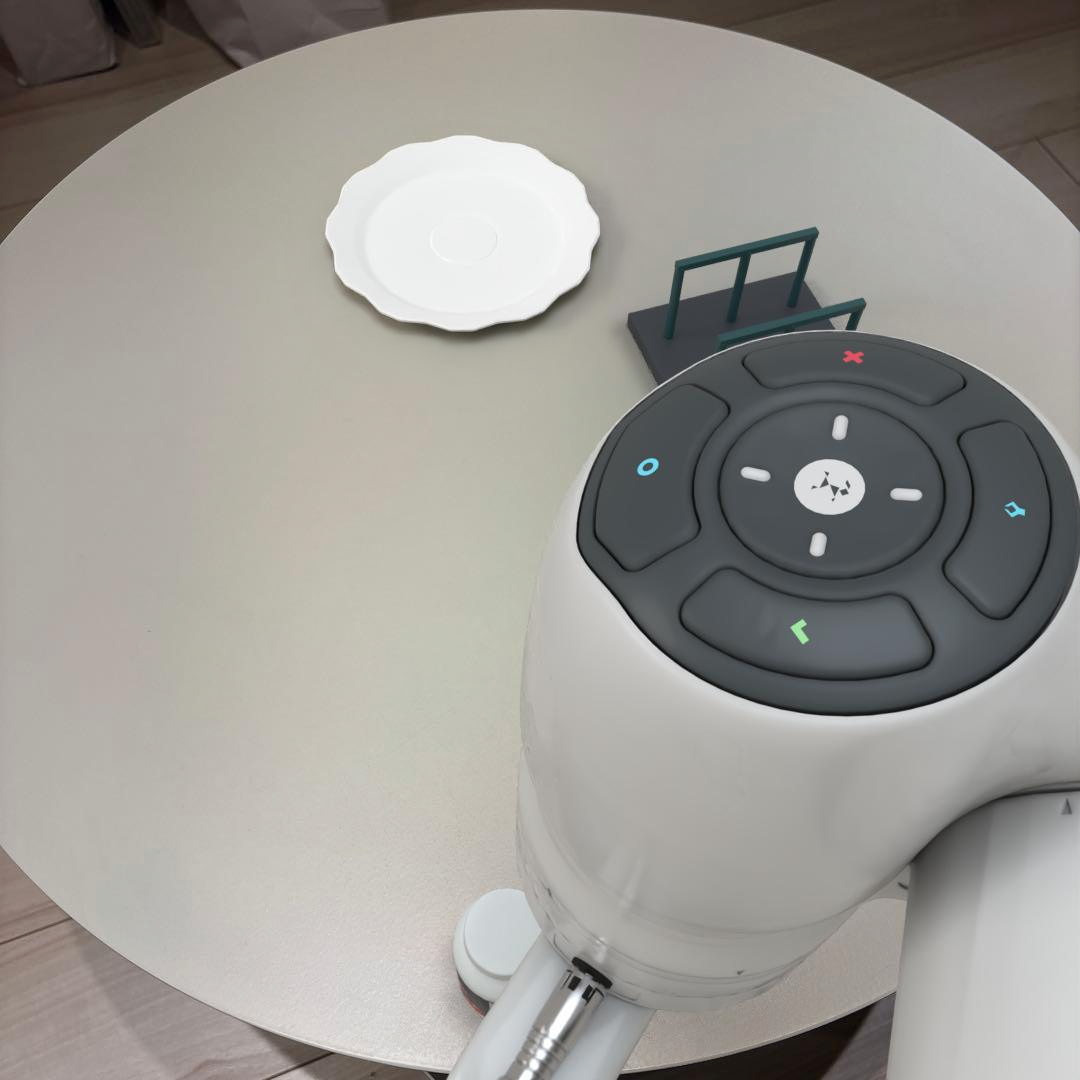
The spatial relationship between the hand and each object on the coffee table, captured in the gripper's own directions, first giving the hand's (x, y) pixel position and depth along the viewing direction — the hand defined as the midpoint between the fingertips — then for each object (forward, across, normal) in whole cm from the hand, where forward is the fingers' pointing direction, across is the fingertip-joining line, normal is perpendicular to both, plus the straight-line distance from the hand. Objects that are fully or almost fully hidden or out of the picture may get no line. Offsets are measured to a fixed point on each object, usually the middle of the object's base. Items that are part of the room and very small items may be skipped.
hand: (632, 941), depth 42 cm
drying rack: (+21, +42, +12) cm, 49 cm away
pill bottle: (+21, 0, +5) cm, 22 cm away
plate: (+21, +43, +40) cm, 62 cm away
